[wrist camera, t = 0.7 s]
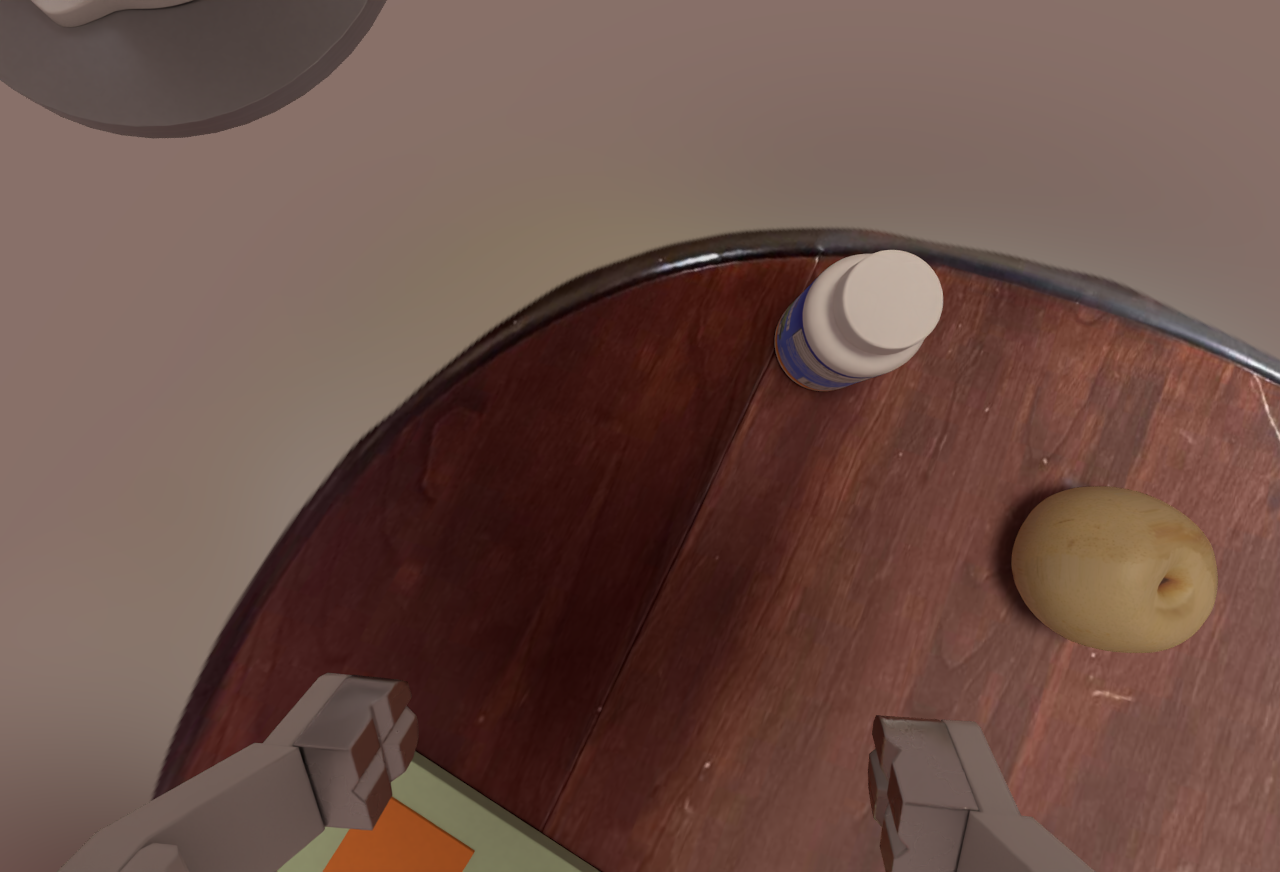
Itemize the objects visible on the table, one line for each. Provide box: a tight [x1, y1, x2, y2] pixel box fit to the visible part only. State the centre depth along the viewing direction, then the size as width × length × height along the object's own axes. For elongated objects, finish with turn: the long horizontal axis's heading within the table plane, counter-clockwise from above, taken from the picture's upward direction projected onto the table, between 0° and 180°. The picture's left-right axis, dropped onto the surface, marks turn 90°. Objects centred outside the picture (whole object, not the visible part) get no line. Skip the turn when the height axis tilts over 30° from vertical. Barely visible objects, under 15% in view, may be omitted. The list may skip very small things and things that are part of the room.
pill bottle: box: [775, 250, 943, 391], centre depth 29 cm, size 5×5×10 cm
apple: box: [1011, 486, 1218, 653], centre depth 30 cm, size 8×8×8 cm
